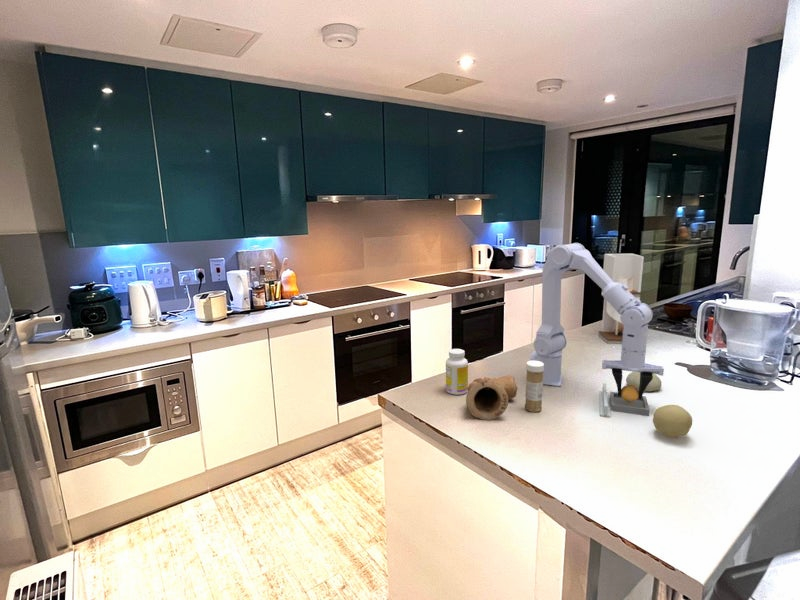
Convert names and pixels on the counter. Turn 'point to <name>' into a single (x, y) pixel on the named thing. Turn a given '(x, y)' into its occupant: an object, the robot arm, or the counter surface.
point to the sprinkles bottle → (534, 386)
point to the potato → (672, 421)
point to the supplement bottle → (456, 372)
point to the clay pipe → (490, 396)
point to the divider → (604, 402)
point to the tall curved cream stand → (626, 273)
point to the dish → (629, 405)
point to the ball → (629, 393)
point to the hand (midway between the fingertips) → (629, 395)
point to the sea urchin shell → (635, 381)
